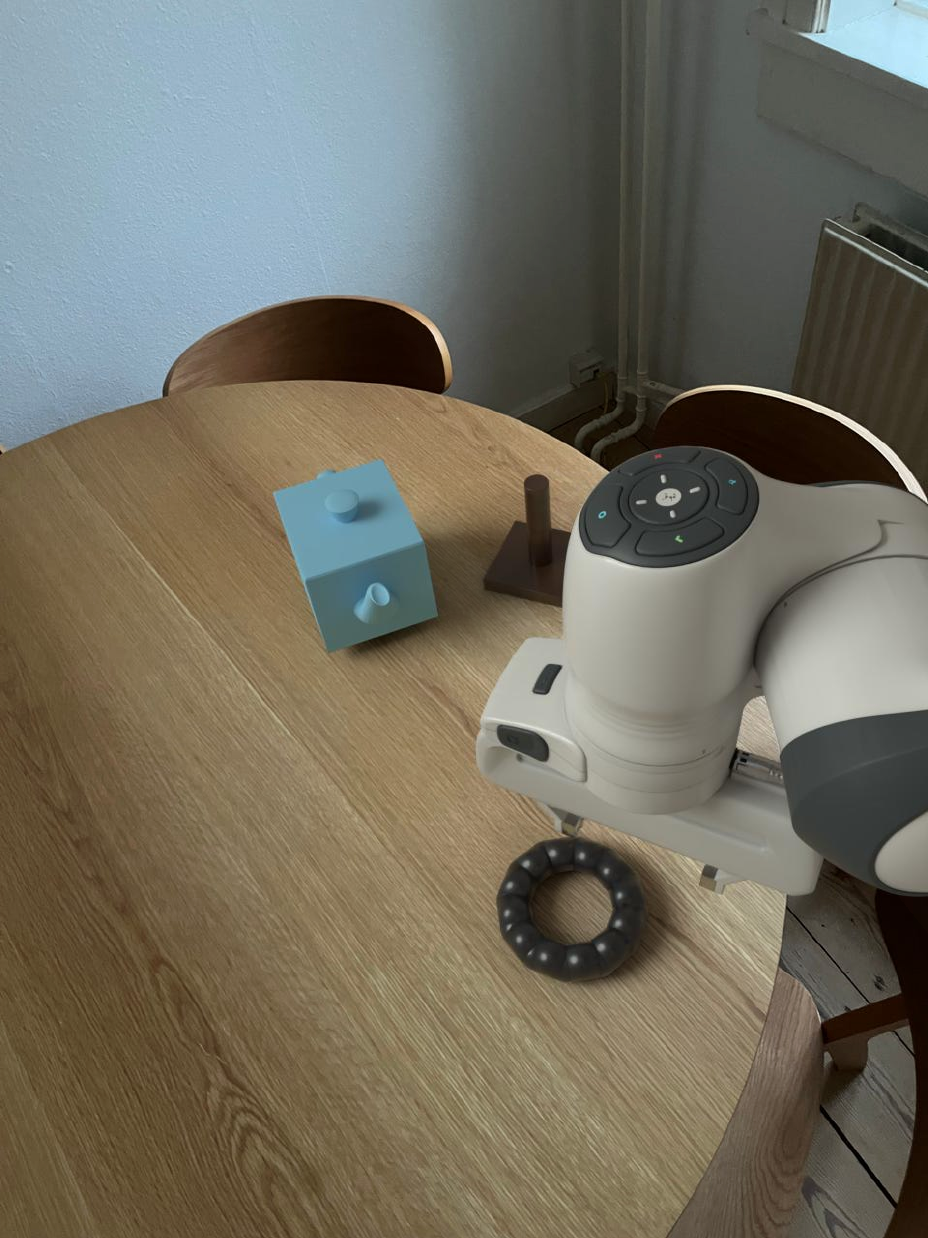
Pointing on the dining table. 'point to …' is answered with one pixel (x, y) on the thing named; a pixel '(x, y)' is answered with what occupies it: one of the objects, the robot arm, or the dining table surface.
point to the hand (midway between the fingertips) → (640, 852)
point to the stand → (532, 551)
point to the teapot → (357, 554)
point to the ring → (582, 956)
